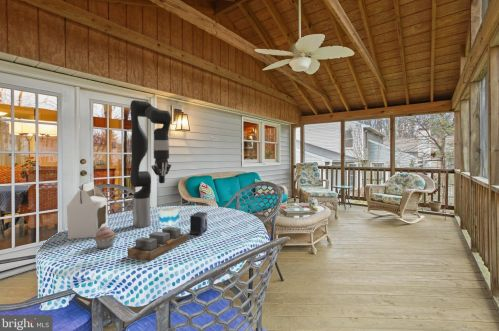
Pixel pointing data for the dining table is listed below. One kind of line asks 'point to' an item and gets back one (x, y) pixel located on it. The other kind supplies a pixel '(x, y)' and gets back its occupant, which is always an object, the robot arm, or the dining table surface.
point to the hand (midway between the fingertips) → (161, 183)
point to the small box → (198, 223)
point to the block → (160, 237)
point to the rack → (156, 245)
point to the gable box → (87, 212)
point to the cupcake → (105, 237)
